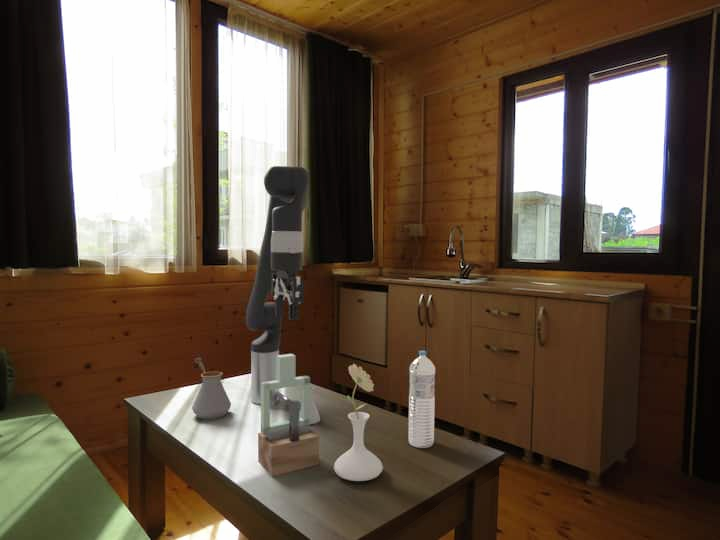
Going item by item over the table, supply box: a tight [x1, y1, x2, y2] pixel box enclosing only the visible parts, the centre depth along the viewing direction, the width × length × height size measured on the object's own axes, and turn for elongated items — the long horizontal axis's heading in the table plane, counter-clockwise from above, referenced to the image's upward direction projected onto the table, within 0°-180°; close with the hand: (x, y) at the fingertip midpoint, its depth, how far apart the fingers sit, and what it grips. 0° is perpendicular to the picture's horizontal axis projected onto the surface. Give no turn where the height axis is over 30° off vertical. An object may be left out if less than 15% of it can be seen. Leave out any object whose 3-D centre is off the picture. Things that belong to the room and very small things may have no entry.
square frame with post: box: [260, 353, 311, 440], centre depth 114 cm, size 5×12×19 cm, turn 121°
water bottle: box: [407, 350, 436, 449], centre depth 125 cm, size 7×7×25 cm
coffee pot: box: [191, 357, 232, 421], centre depth 148 cm, size 21×12×15 cm, turn 34°
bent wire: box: [270, 390, 300, 442], centre depth 118 cm, size 21×2×9 cm, turn 31°
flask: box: [299, 386, 321, 425], centre depth 141 cm, size 7×7×10 cm
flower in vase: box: [333, 363, 384, 482], centre depth 108 cm, size 13×11×25 cm
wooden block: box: [257, 428, 320, 477], centre depth 113 cm, size 9×12×7 cm
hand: (286, 317), depth 113 cm, fingers open, 8 cm apart
